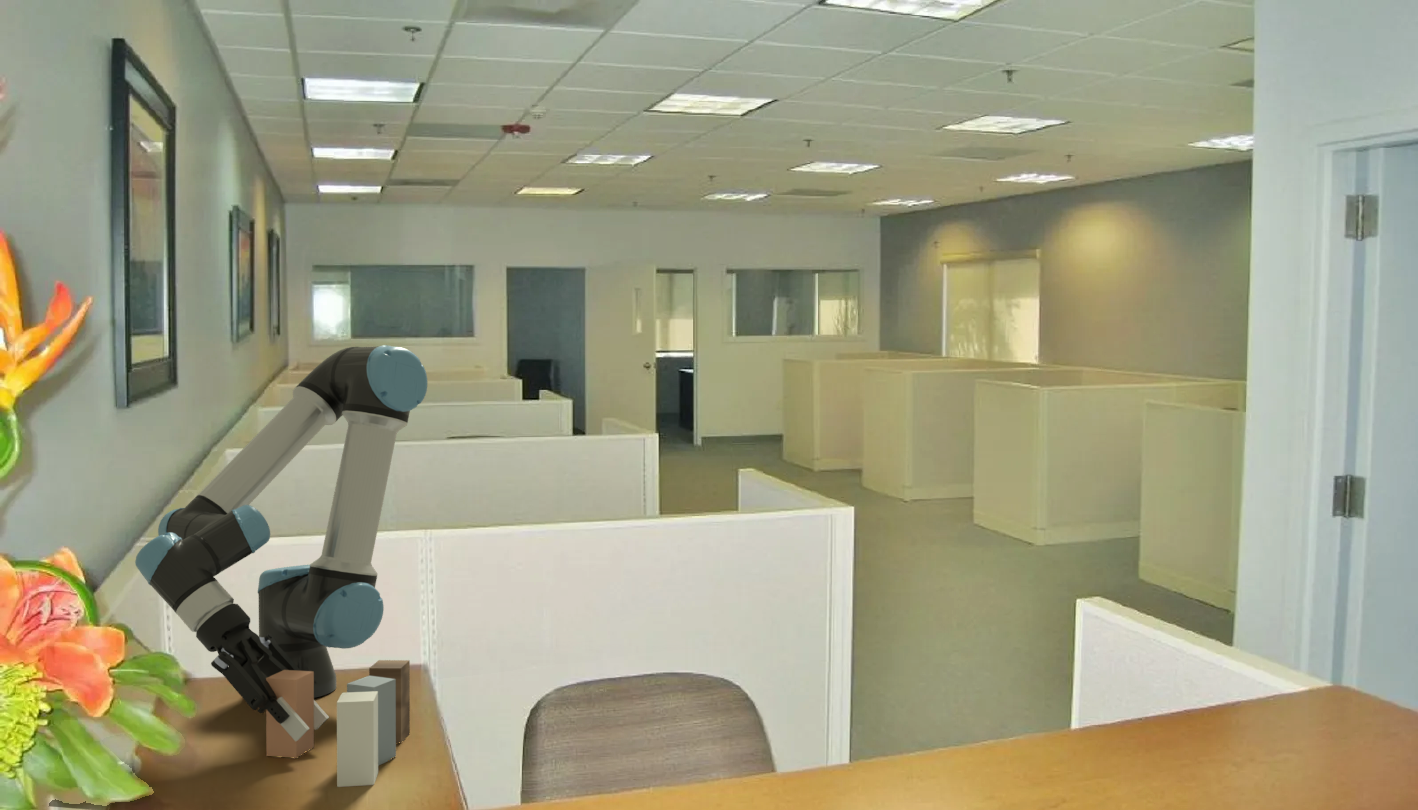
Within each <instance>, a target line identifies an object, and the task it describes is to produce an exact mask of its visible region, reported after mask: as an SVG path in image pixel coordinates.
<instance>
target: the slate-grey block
mask: <svg viewBox="0 0 1418 810" xmlns="http://www.w3.org/2000/svg"><path fill="white" fill-rule="evenodd" d="M370 691H378V767H379V766H381V765H383V764H385V763H387V762H389V761H391V760H392V759H391V758H393V757H395V756H396V757H397V744H396V679H392V678H384V677H376V676H369V675H367V676H365V677H362V678H359V679H356V680H352V681H351V682H347V683H346V692H370ZM396 757H395V758H396ZM390 759H391V760H390ZM393 759H394V758H393ZM388 760H389V761H388Z"/></svg>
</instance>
